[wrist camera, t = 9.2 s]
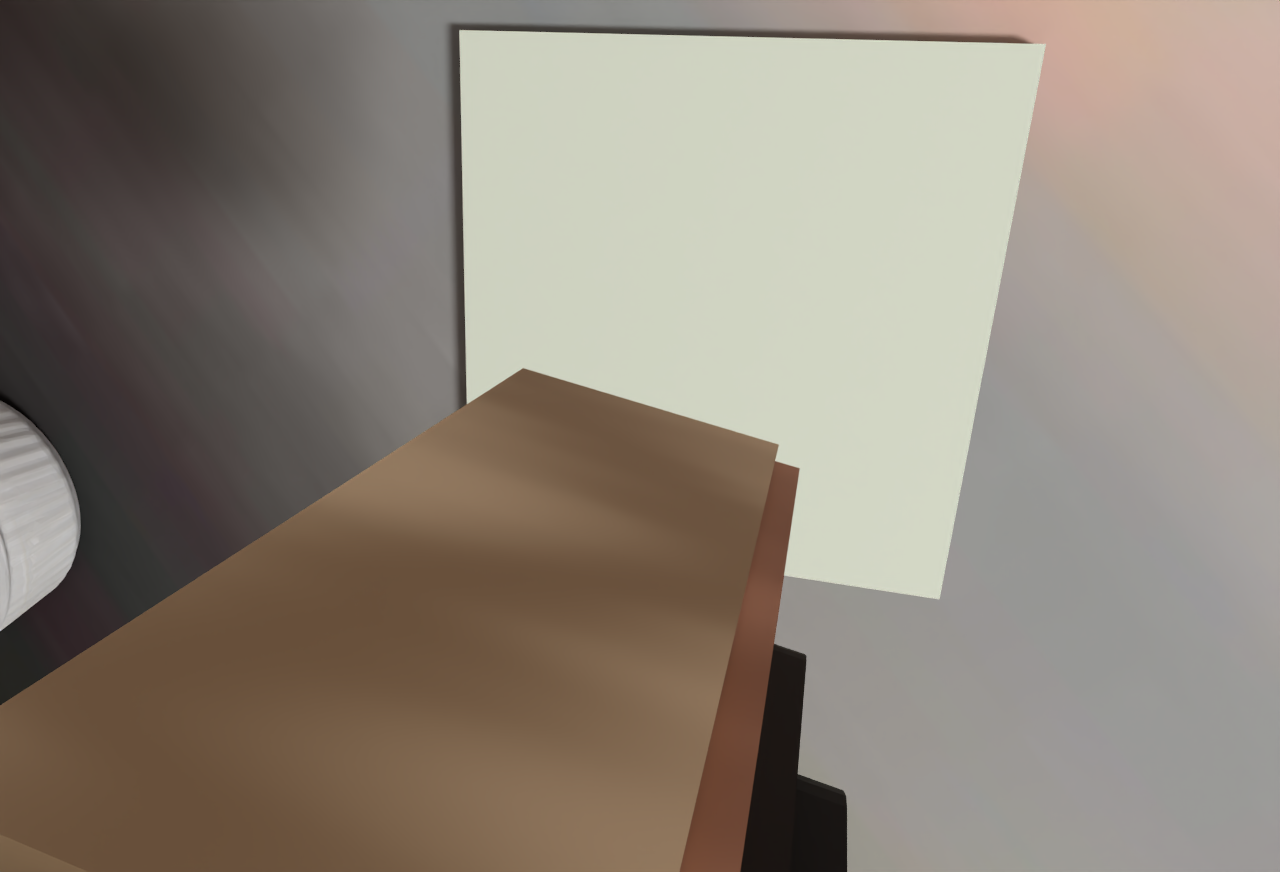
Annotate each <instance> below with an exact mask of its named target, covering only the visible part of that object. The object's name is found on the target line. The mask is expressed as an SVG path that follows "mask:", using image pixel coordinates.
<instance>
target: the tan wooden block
mask: <svg viewBox="0 0 1280 872" xmlns="http://www.w3.org/2000/svg"><path fill="white" fill-rule="evenodd" d="M778 447H779V444H775V443H772V442H769V441H765V440H762V439H759V438H755V437H752V436H748V435H745V434H742V433H738V432H735V431H732V430H728V429H725V428H722V427H718V426H715V425H712V424H708V423H705V422H702V421H698V420H695V419H692V418H688V417H685V416H682V415H678V414H675V413H672V412H668V411H665V410H662V409H658V408H655V407H652V406H648V405H645V404H642V403H638V402H635V401H631V400H628V399H625V398H621V397H618V396H615V395H611V394H608V393H605V392H601V391H598V390H595V389H591V388H588V387H585V386H581V385H578V384H575V383H571V382H568V381H565V380H561V379H558V378H555V377H551V376H548V375H545V374H541V373H538V372H535V371H531V370H528V369H525V368H522V369H521V370H519V371H518V372H516V373H515V374H513V375H512V376H510V377H508V378H507V379H505V380H504V381H502V382H501V383H499V384H498V385H496V386H495V387H493V388H491V389H490V390H488V391H487V392H485V393H484V394H482V395H481V396H479V397H477V398H476V399H474V400H473V401H471V402H470V403H468V404H467V405H465V406H464V407H462V408H460V409H459V410H457V411H456V412H454V413H453V414H451V415H450V416H448V417H447V418H445V419H443V420H442V421H440V422H439V423H437V424H436V425H434V426H433V427H431V428H429V429H428V430H426V431H425V432H423V433H422V434H420V435H419V436H417V437H416V438H414V439H412V440H411V441H409V442H408V443H406V444H405V445H403V446H402V447H400V448H398V449H397V450H395V451H394V452H392V453H391V454H389V455H388V456H386V457H385V458H383V459H381V460H380V461H378V462H377V463H375V464H374V465H372V466H371V467H369V468H368V469H366V470H364V471H363V472H361V473H360V474H358V475H357V476H355V477H354V478H352V479H350V480H349V481H347V482H346V483H344V484H343V485H341V486H340V487H338V488H337V489H335V490H333V491H332V492H330V493H329V494H327V495H326V496H324V497H323V498H321V499H319V500H318V501H316V502H315V503H313V504H312V505H310V506H309V507H307V508H306V509H304V510H302V511H301V512H299V513H298V514H296V515H295V516H293V517H292V518H290V519H288V520H287V521H285V522H284V523H282V524H281V525H279V526H278V527H276V528H275V529H273V530H271V531H270V532H268V533H267V534H265V535H264V536H262V537H261V538H259V539H258V540H256V541H254V542H253V543H251V544H250V545H248V546H247V547H245V548H244V549H242V550H240V551H239V552H237V553H236V554H234V555H233V556H231V557H230V558H228V559H227V560H225V561H223V562H222V563H220V564H219V565H217V566H216V567H214V568H213V569H211V570H209V571H208V572H206V573H205V574H203V575H202V576H200V577H199V578H197V579H196V580H194V581H192V582H191V583H189V584H188V585H186V586H185V587H183V588H182V589H180V590H178V591H177V592H175V593H174V594H172V595H171V596H169V597H168V598H166V599H165V600H163V601H161V602H160V603H158V604H157V605H155V606H154V607H152V608H151V609H149V610H148V611H146V612H144V613H143V614H141V615H140V616H138V617H137V618H135V619H134V620H132V621H130V622H129V623H127V624H126V625H124V626H123V627H121V628H120V629H118V630H117V631H115V632H113V633H112V634H110V635H109V636H107V637H106V638H104V639H103V640H101V641H99V642H98V643H96V644H95V645H93V646H92V647H90V648H89V649H87V650H86V651H84V652H82V653H81V654H79V655H78V656H76V657H75V658H73V659H72V660H70V661H69V662H67V663H65V664H64V665H62V666H61V667H59V668H58V669H56V670H55V671H53V672H51V673H50V674H48V675H47V676H45V677H44V678H42V679H41V680H39V681H38V682H36V683H34V684H33V685H31V686H30V687H28V688H27V689H25V690H24V691H22V692H20V693H19V694H17V695H16V696H14V697H13V698H11V699H10V700H8V701H7V702H5V703H3V704H2V705H0V872H740V870H741V863H742V856H743V850H744V843H745V836H746V829H747V823H748V816H749V809H750V802H751V795H752V789H753V782H754V775H755V768H756V762H757V755H758V748H759V741H760V734H761V728H762V721H763V714H764V707H765V701H766V694H767V687H768V680H769V673H770V667H771V660H772V653H773V646H774V639H775V633H776V626H777V619H778V612H779V606H780V599H781V592H782V585H783V578H784V572H785V565H786V558H787V551H788V545H789V538H790V531H791V524H792V517H793V511H794V504H795V497H796V490H797V484H798V477H799V470H800V468H797V467H794V466H790V465H787V464H784V463H780V462H777V461H775V459H776V455H777V451H778Z"/></svg>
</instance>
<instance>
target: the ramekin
mask: <svg viewBox="0 0 1280 872" xmlns="http://www.w3.org/2000/svg"><path fill="white" fill-rule="evenodd" d="M80 528H81V522H80V509H79V503H78V498H77V494H76V490H75V488H74V485H73V482H72V480H71V477H70V475H69V472H68V470H67V468H66V466H65V465H64V463H63V461H62V459H61V457H60V456H59V454H58V452H57V451H56V449H55V448H54V447H53V445H52V444H51V443H50V441H49V440H48V439H47V438H46V437H45V435H44V434H43V433H42V432H41V431H40V430H39V429H38V428H37V427H36V426H35V425H34V424H33V423H32V422H31V421H30V420H28V419H27V418H26V417H25V416H24V415H22V414H21V413H20V412H18V411H17V410H15V409H14V408H12V407H11V406H9V405H8V404H6V403H4V402H2V401H0V631H1V630H2V629H4V628H5V627H6V626H7V625H9V624H10V623H11V622H13V621H14V620H15V619H16V618H18V617H19V616H20V615H22V614H23V613H24V612H25V611H27V610H28V609H29V608H30V607H32V606H33V605H34V604H35V603H37V602H38V601H39V600H41V599H42V598H43V597H44V596H46V595H47V594H48V593H50V592H51V591H52V590H54V589H55V588H56V587H57V586H58V584H59V583H60V582H61V581H62V580H63V579H64V578H65V576H66V574H67V572H68V571H69V569H70V568H71V566H72V562H73V560H74V557H75V554H76V550H77V547H78V543H79V538H80Z"/></svg>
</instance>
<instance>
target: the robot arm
mask: <svg viewBox="0 0 1280 872" xmlns="http://www.w3.org/2000/svg"><path fill="white" fill-rule="evenodd" d="M805 671H806V655H805V654H802V653H799V652H796V651H793V650H790V649H787V648H785V647H782V646H779V645H776V644H774V646H773V653H772V660H771V667H770V673H769V680H768V687H767V694H766V701H765V707H764V714H763V721H762V728H761V734H760V741H759V748H758V755H757V762H756V768H755V775H754V782H753V789H752V795H751V802H750V809H749V816H748V823H747V829H746V836H745V843H744V850H743V856H742V863H741V870H740V872H847V803H846V795H845V793H844V791H843V790H840V789H837V788H835V787H832V786H829V785H826V784H824V783H821V782H818V781H815V780H812V779H810V778H807V777H804V776H801V775H798V774H797V773H798V760H799V748H800V735H801V722H802V709H803V696H804V684H805Z"/></svg>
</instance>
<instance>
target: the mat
mask: <svg viewBox="0 0 1280 872" xmlns="http://www.w3.org/2000/svg"><path fill="white" fill-rule="evenodd" d="M459 36H460V86H461V137H462V187H463V238H464V288H465V339H466V389H467V404H468V403H470V402H471V401H473V400H474V399H476V398H477V397H479V396H481V395H482V394H484V393H485V392H487V391H488V390H490V389H491V388H493V387H495V386H496V385H498V384H499V383H501V382H502V381H504V380H505V379H507V378H508V377H510V376H512V375H513V374H515V373H516V372H518V371H519V370H521V369H522V368H525V369H528V370H531V371H535V372H538V373H541V374H545V375H548V376H551V377H555V378H558V379H561V380H565V381H568V382H571V383H575V384H578V385H581V386H585V387H588V388H591V389H595V390H598V391H601V392H605V393H608V394H611V395H615V396H618V397H621V398H625V399H628V400H631V401H635V402H638V403H642V404H645V405H648V406H652V407H655V408H658V409H662V410H665V411H668V412H672V413H675V414H678V415H682V416H685V417H688V418H692V419H695V420H698V421H702V422H705V423H708V424H712V425H715V426H718V427H722V428H725V429H728V430H732V431H735V432H738V433H742V434H745V435H748V436H752V437H755V438H759V439H762V440H765V441H769V442H772V443H775V444H779V447H778V451H777V455H776V459H775V461H777V462H780V463H784V464H787V465H790V466H794V467H797V468H800V470H799V477H798V484H797V490H796V497H795V504H794V511H793V517H792V524H791V531H790V538H789V545H788V551H787V558H786V565H785V572H784V576H791V577H797V578H804V579H810V580H817V581H823V582H830V583H836V584H843V585H849V586H856V587H862V588H869V589H875V590H882V591H888V592H895V593H902V594H908V595H915V596H921V597H928V598H934V599H940V593H941V588H942V583H943V578H944V573H945V567H946V562H947V557H948V552H949V547H950V541H951V536H952V531H953V526H954V520H955V515H956V510H957V505H958V500H959V494H960V489H961V484H962V479H963V474H964V468H965V463H966V458H967V453H968V448H969V442H970V437H971V432H972V427H973V422H974V416H975V411H976V406H977V401H978V395H979V390H980V385H981V380H982V375H983V369H984V364H985V359H986V354H987V349H988V343H989V338H990V333H991V328H992V323H993V317H994V312H995V307H996V302H997V296H998V291H999V286H1000V281H1001V276H1002V270H1003V265H1004V260H1005V255H1006V250H1007V244H1008V239H1009V234H1010V229H1011V224H1012V218H1013V213H1014V208H1015V203H1016V197H1017V192H1018V187H1019V182H1020V177H1021V171H1022V166H1023V161H1024V156H1025V151H1026V145H1027V140H1028V135H1029V130H1030V125H1031V119H1032V114H1033V109H1034V104H1035V99H1036V93H1037V88H1038V83H1039V78H1040V72H1041V67H1042V62H1043V57H1044V52H1045V46H1046V44H1020V43H978V42H936V41H894V40H853V39H811V38H769V37H727V36H685V35H644V34H602V33H560V32H518V31H477V30H459Z"/></svg>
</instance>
